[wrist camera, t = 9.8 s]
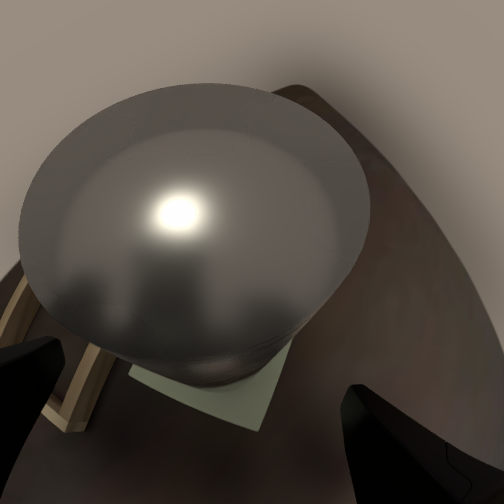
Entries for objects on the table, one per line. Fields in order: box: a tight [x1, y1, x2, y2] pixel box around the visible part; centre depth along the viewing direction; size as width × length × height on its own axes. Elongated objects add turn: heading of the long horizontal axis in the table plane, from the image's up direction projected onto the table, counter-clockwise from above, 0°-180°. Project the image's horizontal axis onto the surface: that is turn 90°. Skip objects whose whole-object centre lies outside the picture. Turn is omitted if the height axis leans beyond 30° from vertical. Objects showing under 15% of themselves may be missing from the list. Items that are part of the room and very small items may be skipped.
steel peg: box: [19, 83, 370, 393], centre depth 9 cm, size 6×6×13 cm
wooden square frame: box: [0, 274, 117, 433], centre depth 13 cm, size 9×9×2 cm
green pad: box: [128, 338, 293, 432], centre depth 15 cm, size 8×8×1 cm
